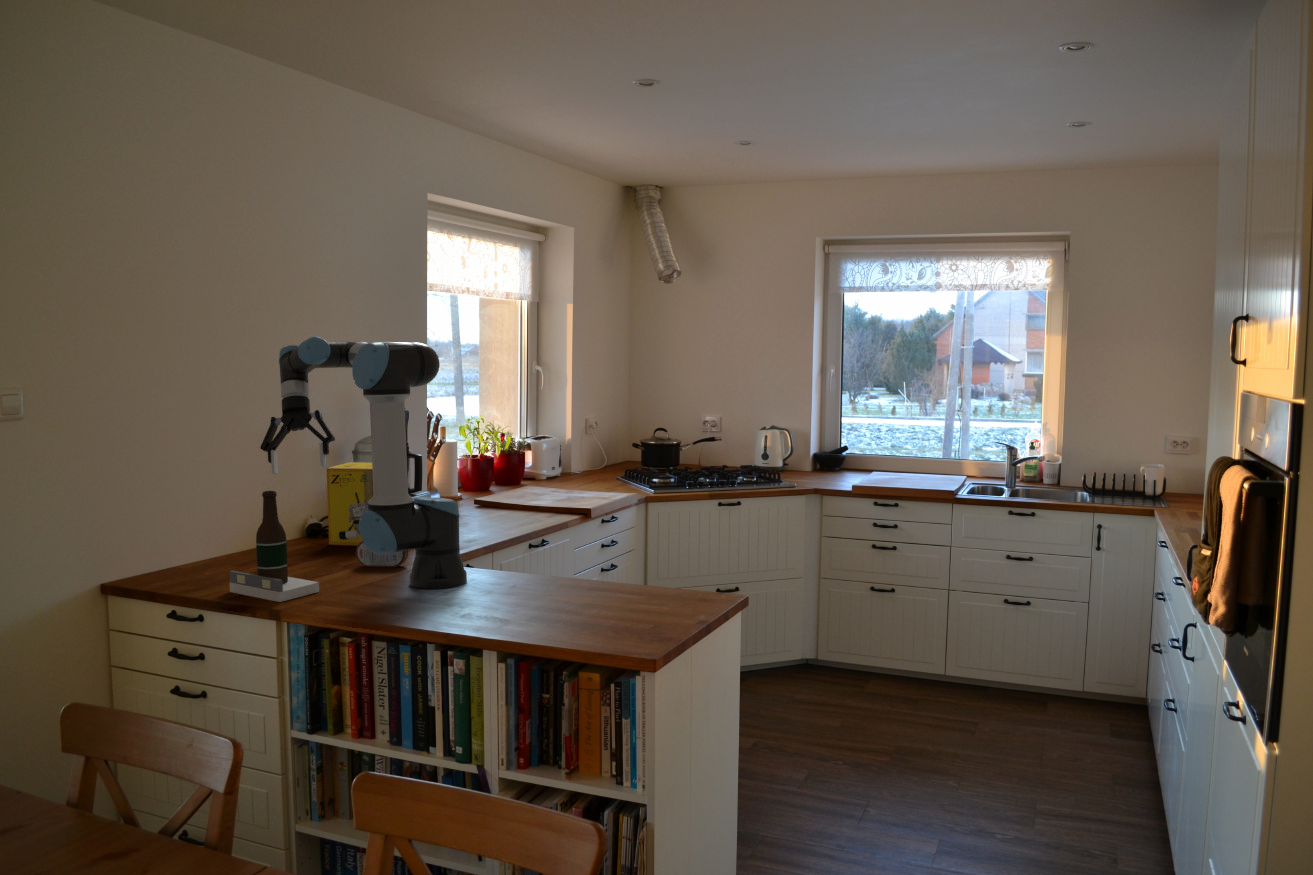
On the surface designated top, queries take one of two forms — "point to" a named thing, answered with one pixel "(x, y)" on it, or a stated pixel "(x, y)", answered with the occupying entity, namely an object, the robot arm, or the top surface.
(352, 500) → the packaging box
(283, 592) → the grey slab
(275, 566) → the beer bottle
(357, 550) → the tin
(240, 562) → the top surface
